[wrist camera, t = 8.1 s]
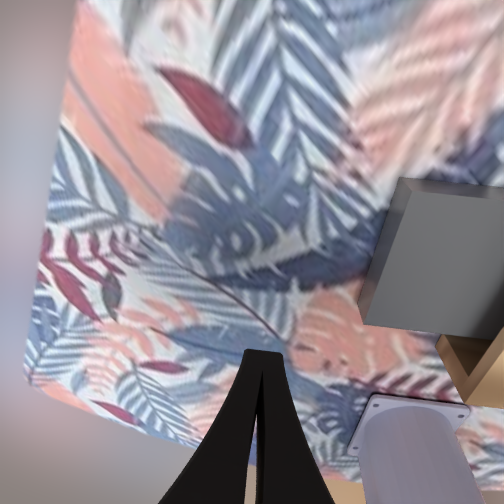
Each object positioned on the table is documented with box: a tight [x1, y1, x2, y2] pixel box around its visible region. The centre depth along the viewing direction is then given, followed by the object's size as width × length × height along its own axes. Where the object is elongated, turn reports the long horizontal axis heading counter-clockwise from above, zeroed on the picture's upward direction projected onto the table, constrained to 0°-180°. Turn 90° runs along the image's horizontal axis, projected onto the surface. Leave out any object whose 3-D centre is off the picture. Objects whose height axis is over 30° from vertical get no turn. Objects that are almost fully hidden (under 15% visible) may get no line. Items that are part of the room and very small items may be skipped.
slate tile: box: [357, 177, 504, 340], centre depth 18 cm, size 9×12×2 cm
